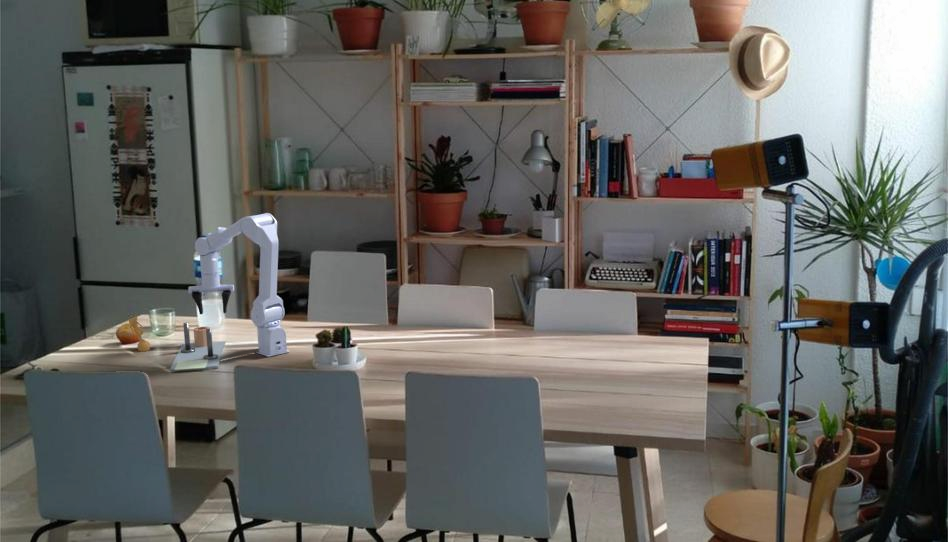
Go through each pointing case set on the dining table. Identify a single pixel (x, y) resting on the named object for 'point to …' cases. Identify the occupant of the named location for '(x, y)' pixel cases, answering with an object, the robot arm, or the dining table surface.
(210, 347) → the posts
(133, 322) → the figurine
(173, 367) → the board
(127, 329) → the fruit
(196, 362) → the pad
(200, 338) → the octagonal hollow tube
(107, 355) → the dining table surface
